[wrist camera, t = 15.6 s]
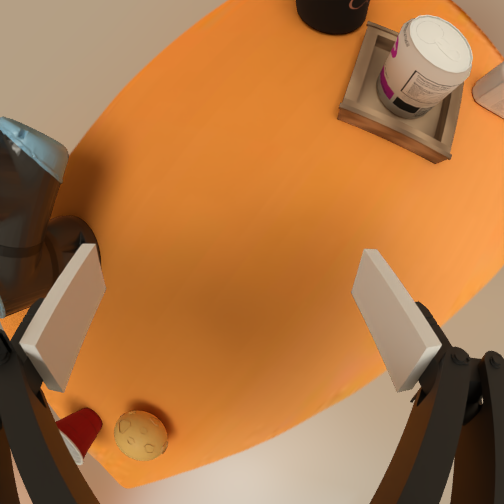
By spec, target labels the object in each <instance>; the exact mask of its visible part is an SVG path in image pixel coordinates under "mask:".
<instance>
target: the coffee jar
mask: <svg viewBox="0 0 504 504" xmlns="http://www.w3.org/2000/svg"><path fill="white" fill-rule="evenodd" d="M369 2H370V0H296V6H297V11H298V14H299V15H300V17H301V18H302V20H303V21H304V22H306V23H307V24H308V25H309V26H311V27H313V28H315V29H317V30H319V31H321V32H325V33H330V34H343V33H347V32H351V31H353V30H355V29H357V28H358V27H360V26H361V25H362V24H363V22H364V21H365V19H366V14H367V10H368V6H369Z"/></svg>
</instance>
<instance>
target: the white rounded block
mask: <svg viewBox="0 0 504 504" xmlns="http://www.w3.org/2000/svg"><path fill="white" fill-rule="evenodd" d="M472 93H473V97H474V99H475V101H476V102H477V103H478V104H480V105H481V106H483V107H485V108H486V109H488V110H490V111H492V112H493V113H495V114H497V115H498V116H500V117H502V118H504V61H503V62H502V63H501V64H499V65H498V66H497V67H495V68H494V69H493V70H491V71H490V72H489V73H487V74H486V75H485V76H484V77H482V78H481V79H480V80H478V81H477V82H476V85H475V86H474V87H473V89H472Z"/></svg>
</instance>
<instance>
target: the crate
mask: <svg viewBox="0 0 504 504" xmlns="http://www.w3.org/2000/svg"><path fill="white" fill-rule="evenodd" d="M367 26H368V28H367V31H366V34H365V37H364V40H363V43H362V46H361V49H360V52H359V55H358V58H357V61H356V64H355V67H354V70H353V73H352V76H351V79H350V82H349V85H348V88H347V91H346V94H345V96H344V99H343V102H342V103H340V105H339V109H340V111H339V115H338V120H341V121H344V122H346V123H349V124H351V125H354V126H356V127H359V128H361V129H363V130H366V131H368V132H370V133H373V134H375V135H377V136H380V137H382V138H384V139H386V140H388V141H391V142H393V143H395V144H397V145H399V146H401V147H403V148H405V149H407V150H409V151H411V152H413V153H415V154H417V155H419V156H421V157H423V158H425V159H427V160H429V161H431V162H433V163H434V164H436V163H439V162H442V161H444V160H447V159H448V160H450V159H451V157H452V155H451V154H450V150H451V146H452V142H453V138H454V134H455V129H456V124H457V119H458V114H459V109H460V104H461V98H462V92H463V85H464V82H463V83H461V84H460V85H459V86H458V87H457V88H455V89H454V90H453V91H452V92H451V93H450V94H448V95H447V96H446V97H445V98H444V99H443V100H441V101H440V102H439V103H438V104H437V105H435V106H434V107H433V108H432V109H431V110H430V111H428V112H427V113H426V114H425V115H424V116H422V117H419V118H416V119H408V118H403V117H400V116H398V115H396V114H394V113H393V112H392V111H390V110H389V109H388V108H386V106H385V105H384V104H383V102H382V101H381V100H380V97H379V95H378V92H377V79H378V77H379V75H380V72H381V70H382V68H383V66H384V64H385V62H386V60H387V58H388V56H389V54H390V52H391V50H392V48H393V46H394V43H395V41H396V39H397V37H398V35H399V33H398V32H395V31H393V30H391V29H388V28H386V27H383V26H380V25H378V24H375V23H373V22H370V21H368V22H367Z"/></svg>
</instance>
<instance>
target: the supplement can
mask: <svg viewBox="0 0 504 504" xmlns="http://www.w3.org/2000/svg"><path fill="white" fill-rule="evenodd" d="M472 60H473V56H472V51H471V47H470V45H469V43H468V41H467V40H466V38H465V37H464V36H463V34H462V33H461V32H460V31H459V30H458V29H457V28H456V27H454V26H453V25H452V24H451V23H449V22H447V21H445V20H443V19H441V18H439V17H436V16H431V15H423V16H418V17H417V18H414V19H411V20H409V21H408V22H406V23H405V24H403V26H402V29H401V31H400V33H399V35H398V37H397V39H396V41H395V43H394V46H393V48H392V50H391V52H390V54H389V56H388V58H387V60H386V62H385V64H384V66H383V68H382V70H381V72H380V75H379V77H378V79H377V92H378V95H379V97H380V100H381V101H382V102H383V104H384V105H385V106H386V108H388V109H389V110H390V111H392V112H393V113H394V114H396V115H398V116H400V117H403V118H408V119H416V118H419V117H422V116H424V115H425V114H426V113H427V112H428V111H430V110H431V109H432V108H433V107H434V106H435V105H437V104H438V103H439V102H440V101H441V100H443V99H444V98H445V97H446V96H447V95H448V94H450V93H451V92H452V91H453V90H454V89H455V88H457V87H458V86H459V85H460V84H461V83H463V82H464V81H465V80H466V79H467V78H468V77H469V75H470V72H471V68H472Z"/></svg>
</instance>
